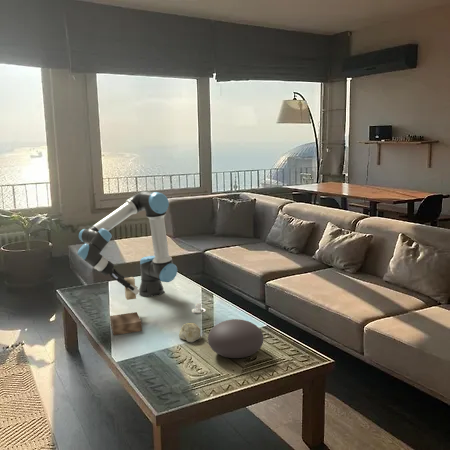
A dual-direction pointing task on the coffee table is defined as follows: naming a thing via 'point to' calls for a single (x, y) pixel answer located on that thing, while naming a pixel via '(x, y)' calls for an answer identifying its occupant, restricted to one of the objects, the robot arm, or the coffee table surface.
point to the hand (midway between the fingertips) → (137, 291)
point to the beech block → (129, 293)
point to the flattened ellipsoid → (235, 338)
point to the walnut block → (125, 323)
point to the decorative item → (190, 332)
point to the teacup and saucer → (198, 308)
